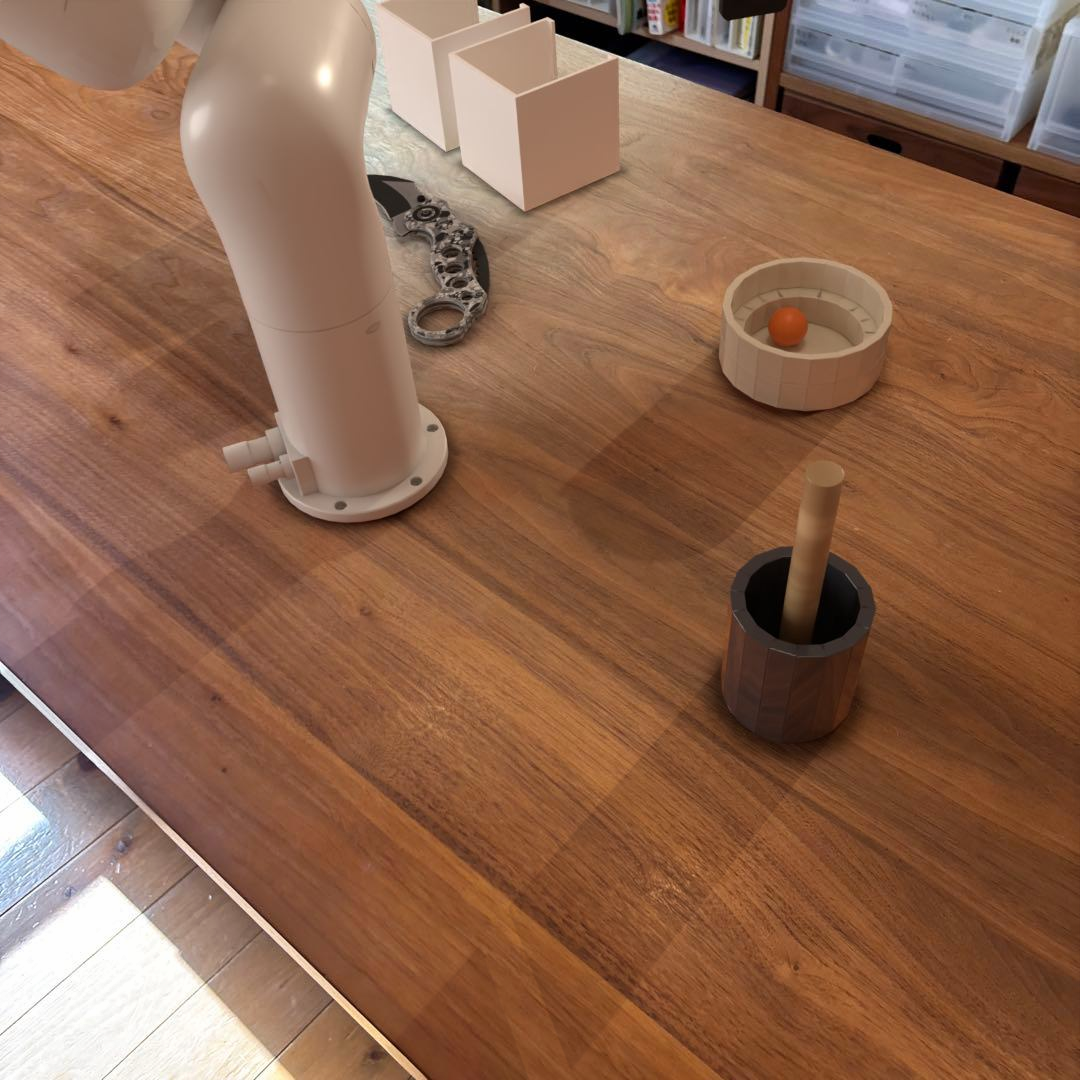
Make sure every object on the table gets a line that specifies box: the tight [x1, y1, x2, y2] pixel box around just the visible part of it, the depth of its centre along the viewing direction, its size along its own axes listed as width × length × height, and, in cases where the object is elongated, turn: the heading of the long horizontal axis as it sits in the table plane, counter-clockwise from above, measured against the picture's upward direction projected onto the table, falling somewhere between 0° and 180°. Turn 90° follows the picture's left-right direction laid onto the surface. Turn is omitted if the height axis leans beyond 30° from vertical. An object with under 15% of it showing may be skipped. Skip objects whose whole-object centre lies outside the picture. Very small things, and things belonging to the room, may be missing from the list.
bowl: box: [718, 256, 894, 412], centre depth 84 cm, size 12×12×6 cm
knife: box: [367, 173, 491, 347], centre depth 99 cm, size 28×2×10 cm
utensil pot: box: [720, 545, 877, 744], centre depth 63 cm, size 8×8×9 cm
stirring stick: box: [778, 459, 845, 645], centre depth 59 cm, size 2×2×18 cm
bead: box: [768, 307, 808, 346], centre depth 86 cm, size 3×3×3 cm
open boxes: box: [373, 0, 621, 213], centre depth 107 cm, size 25×11×11 cm, turn 35°
